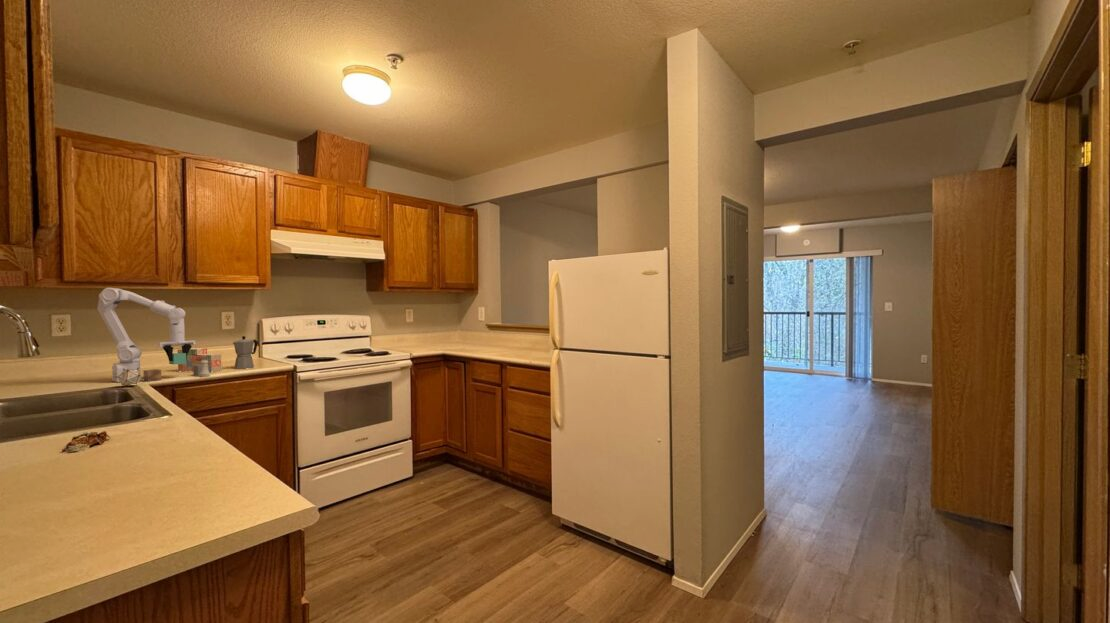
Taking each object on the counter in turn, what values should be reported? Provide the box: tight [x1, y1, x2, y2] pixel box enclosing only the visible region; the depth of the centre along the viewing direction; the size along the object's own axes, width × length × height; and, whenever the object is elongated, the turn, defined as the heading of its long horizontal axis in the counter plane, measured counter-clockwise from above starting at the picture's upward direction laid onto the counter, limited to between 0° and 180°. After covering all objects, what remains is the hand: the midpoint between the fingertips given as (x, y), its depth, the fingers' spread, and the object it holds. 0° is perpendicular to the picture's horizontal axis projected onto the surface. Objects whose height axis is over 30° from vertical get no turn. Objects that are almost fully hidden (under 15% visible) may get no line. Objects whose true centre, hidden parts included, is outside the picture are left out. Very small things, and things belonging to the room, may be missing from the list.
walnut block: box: [142, 368, 162, 383], centre depth 220 cm, size 5×5×5 cm
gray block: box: [192, 365, 211, 377], centre depth 238 cm, size 5×5×5 cm
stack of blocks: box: [176, 347, 222, 373], centre depth 252 cm, size 21×6×12 cm, turn 79°
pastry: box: [61, 430, 111, 454], centre depth 117 cm, size 7×12×4 cm, turn 31°
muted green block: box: [168, 352, 186, 366], centre depth 229 cm, size 5×5×5 cm
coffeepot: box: [232, 335, 259, 370], centre depth 263 cm, size 15×9×18 cm, turn 165°
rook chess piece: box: [199, 360, 211, 378], centre depth 232 cm, size 4×4×8 cm
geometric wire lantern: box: [116, 368, 144, 386], centre depth 204 cm, size 9×8×10 cm
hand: (177, 360), depth 229 cm, fingers closed on muted green block, 5 cm apart
